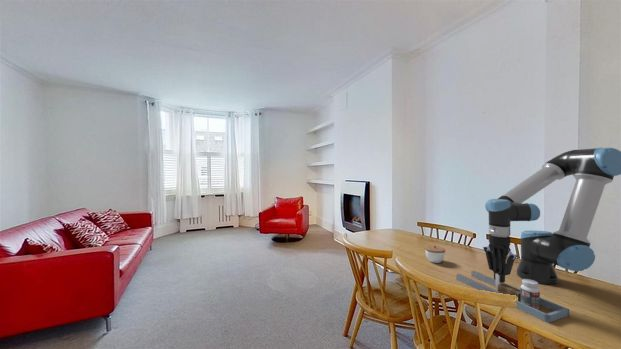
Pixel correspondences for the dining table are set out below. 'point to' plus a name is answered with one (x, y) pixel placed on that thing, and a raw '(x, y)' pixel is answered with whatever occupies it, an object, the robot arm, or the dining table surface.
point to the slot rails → (477, 284)
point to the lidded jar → (435, 253)
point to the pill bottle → (530, 293)
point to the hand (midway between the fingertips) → (499, 288)
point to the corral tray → (557, 314)
